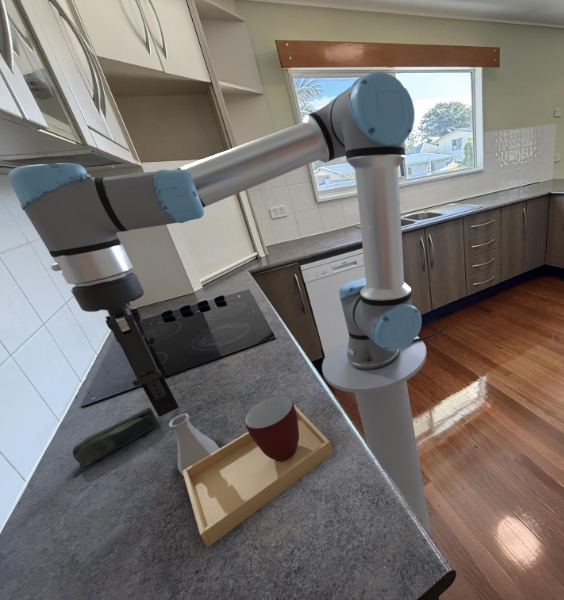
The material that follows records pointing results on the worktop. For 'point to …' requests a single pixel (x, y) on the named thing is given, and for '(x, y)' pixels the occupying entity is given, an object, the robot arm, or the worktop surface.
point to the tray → (247, 479)
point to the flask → (190, 442)
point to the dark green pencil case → (113, 437)
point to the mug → (274, 427)
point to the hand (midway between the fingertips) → (163, 393)
